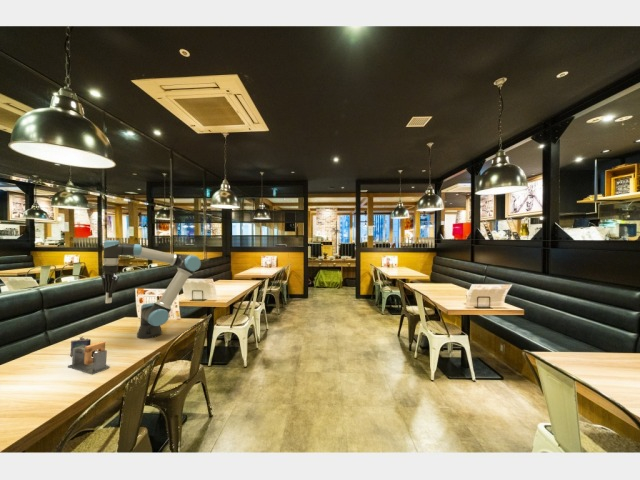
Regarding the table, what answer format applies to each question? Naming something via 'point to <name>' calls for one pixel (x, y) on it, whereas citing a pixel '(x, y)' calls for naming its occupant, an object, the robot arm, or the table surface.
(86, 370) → the pipe rail
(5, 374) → the table surface
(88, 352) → the orange square ring
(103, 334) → the table surface
